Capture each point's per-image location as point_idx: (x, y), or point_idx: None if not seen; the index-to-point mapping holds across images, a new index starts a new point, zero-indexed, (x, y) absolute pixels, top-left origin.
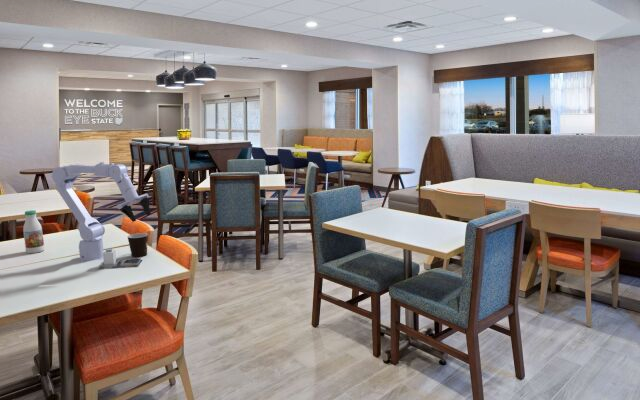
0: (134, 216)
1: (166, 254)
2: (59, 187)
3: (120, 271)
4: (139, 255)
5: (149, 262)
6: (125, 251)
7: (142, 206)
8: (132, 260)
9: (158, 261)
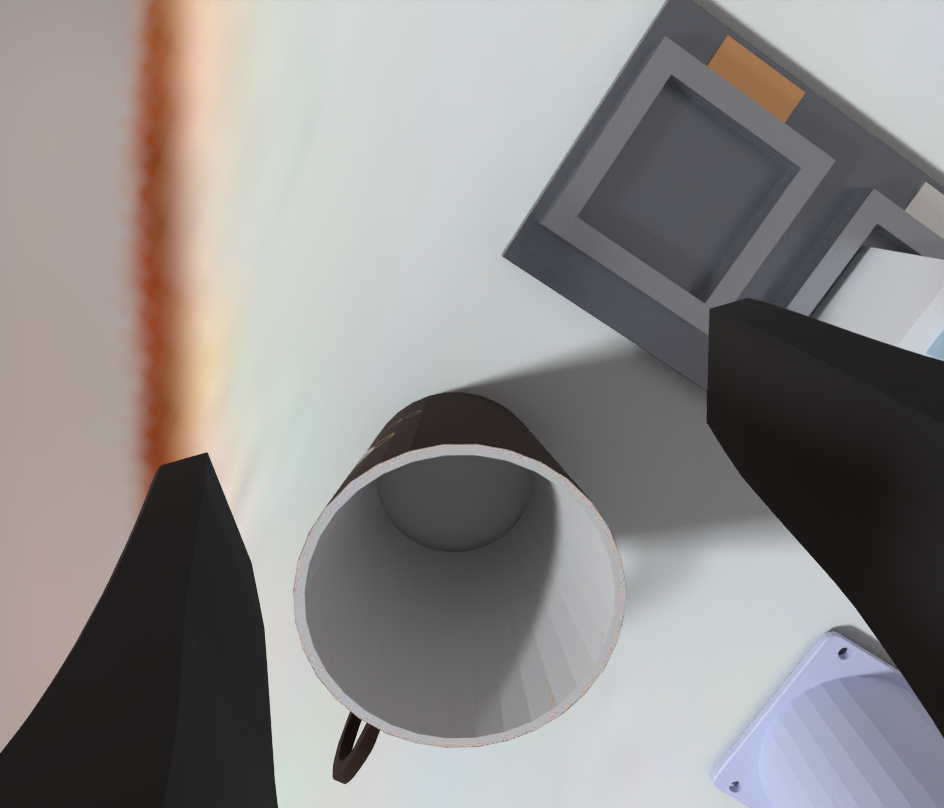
0: (795, 343)
1: (155, 330)
2: None
3: (872, 31)
4: (488, 403)
5: (459, 139)
6: (493, 795)
7: None
8: (637, 259)
9: (354, 93)
